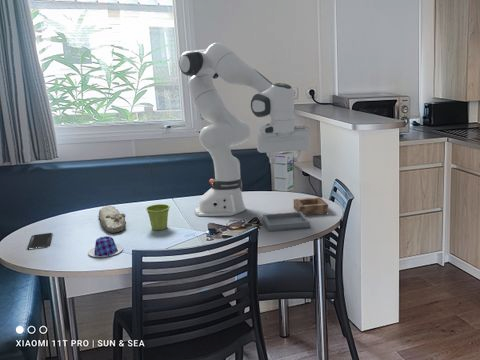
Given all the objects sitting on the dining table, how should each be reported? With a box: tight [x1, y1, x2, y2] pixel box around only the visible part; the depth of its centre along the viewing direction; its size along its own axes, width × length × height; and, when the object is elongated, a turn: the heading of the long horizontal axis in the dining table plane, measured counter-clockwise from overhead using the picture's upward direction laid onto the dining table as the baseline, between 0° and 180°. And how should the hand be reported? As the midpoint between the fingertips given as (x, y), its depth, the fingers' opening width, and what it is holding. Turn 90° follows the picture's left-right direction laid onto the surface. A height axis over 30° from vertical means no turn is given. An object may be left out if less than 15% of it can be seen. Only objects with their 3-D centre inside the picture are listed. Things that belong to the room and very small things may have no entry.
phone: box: [27, 232, 54, 249], centre depth 187 cm, size 8×1×15 cm
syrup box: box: [273, 151, 295, 193], centre depth 189 cm, size 6×6×14 cm
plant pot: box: [145, 203, 171, 231], centre depth 195 cm, size 9×9×9 cm
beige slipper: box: [98, 205, 127, 234], centre depth 208 cm, size 35×5×10 cm
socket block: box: [293, 196, 329, 216], centre depth 209 cm, size 12×12×4 cm
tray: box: [262, 211, 311, 232], centre depth 193 cm, size 16×14×2 cm
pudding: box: [88, 235, 124, 258], centre depth 173 cm, size 12×12×5 cm
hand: (283, 162), depth 188 cm, fingers closed on syrup box, 8 cm apart
